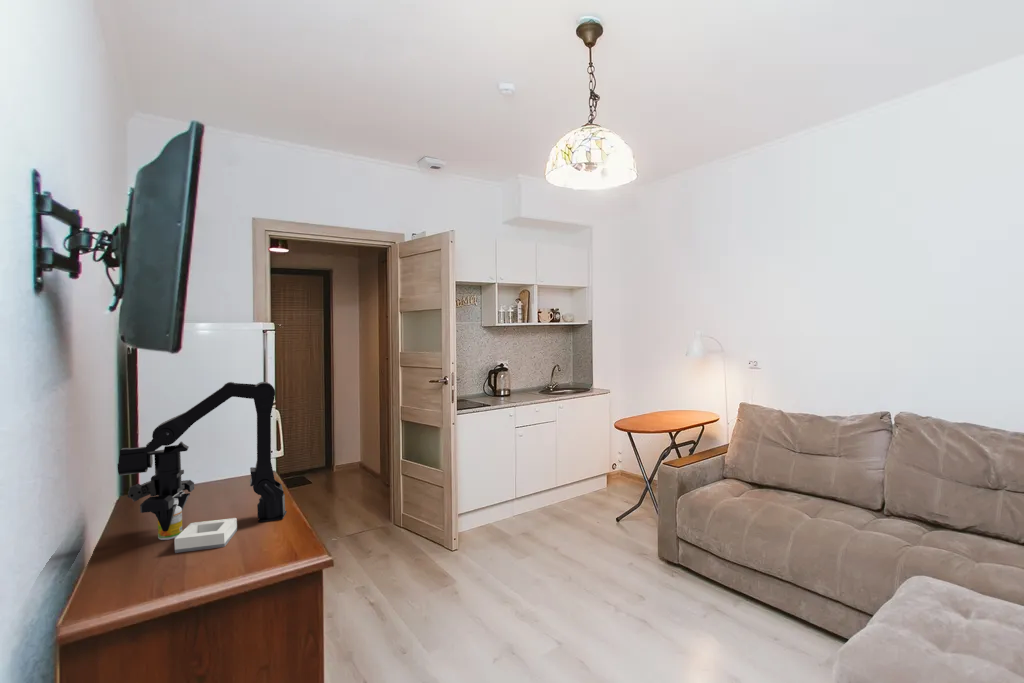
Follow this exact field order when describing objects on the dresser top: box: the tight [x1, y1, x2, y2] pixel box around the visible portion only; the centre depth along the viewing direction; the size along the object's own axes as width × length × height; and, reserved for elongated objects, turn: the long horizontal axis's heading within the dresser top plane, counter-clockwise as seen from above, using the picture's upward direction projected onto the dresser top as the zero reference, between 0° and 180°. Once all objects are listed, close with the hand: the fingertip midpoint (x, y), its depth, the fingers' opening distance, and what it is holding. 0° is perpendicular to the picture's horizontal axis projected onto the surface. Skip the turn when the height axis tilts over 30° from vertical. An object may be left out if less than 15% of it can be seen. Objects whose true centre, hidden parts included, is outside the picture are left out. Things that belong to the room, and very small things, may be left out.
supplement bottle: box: [157, 498, 184, 541], centre depth 131 cm, size 5×5×10 cm
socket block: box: [174, 517, 238, 554], centre depth 127 cm, size 11×11×4 cm
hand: (170, 527), depth 131 cm, fingers closed on supplement bottle, 5 cm apart
